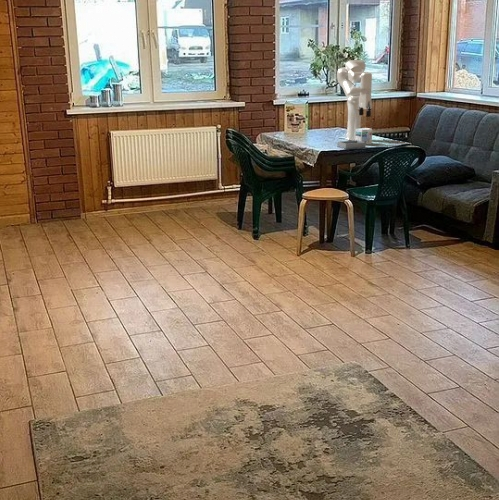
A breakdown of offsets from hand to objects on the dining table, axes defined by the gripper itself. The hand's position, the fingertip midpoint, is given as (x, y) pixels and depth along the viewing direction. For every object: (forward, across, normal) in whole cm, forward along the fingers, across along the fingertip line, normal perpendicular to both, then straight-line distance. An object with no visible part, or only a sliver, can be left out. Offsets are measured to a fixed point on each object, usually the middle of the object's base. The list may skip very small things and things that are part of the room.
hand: (364, 115), depth 503 cm
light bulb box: (+20, 0, 0) cm, 20 cm away
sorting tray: (+20, +10, -16) cm, 27 cm away
